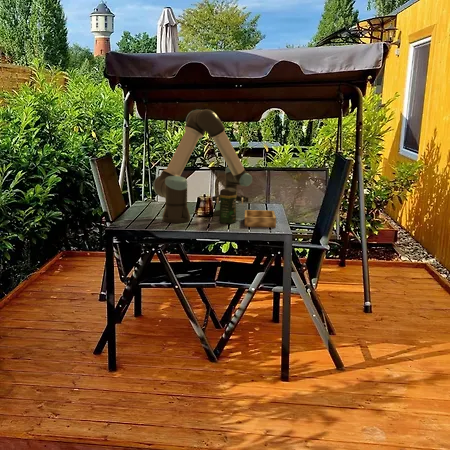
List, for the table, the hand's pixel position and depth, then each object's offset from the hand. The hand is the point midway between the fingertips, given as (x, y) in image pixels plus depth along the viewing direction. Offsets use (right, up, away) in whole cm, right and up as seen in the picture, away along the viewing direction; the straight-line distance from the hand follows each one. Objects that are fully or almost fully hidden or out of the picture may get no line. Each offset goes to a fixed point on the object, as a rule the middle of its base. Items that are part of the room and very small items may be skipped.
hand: (229, 201), depth 254 cm
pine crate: (+16, -12, -3) cm, 20 cm away
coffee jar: (-1, -11, -3) cm, 12 cm away
